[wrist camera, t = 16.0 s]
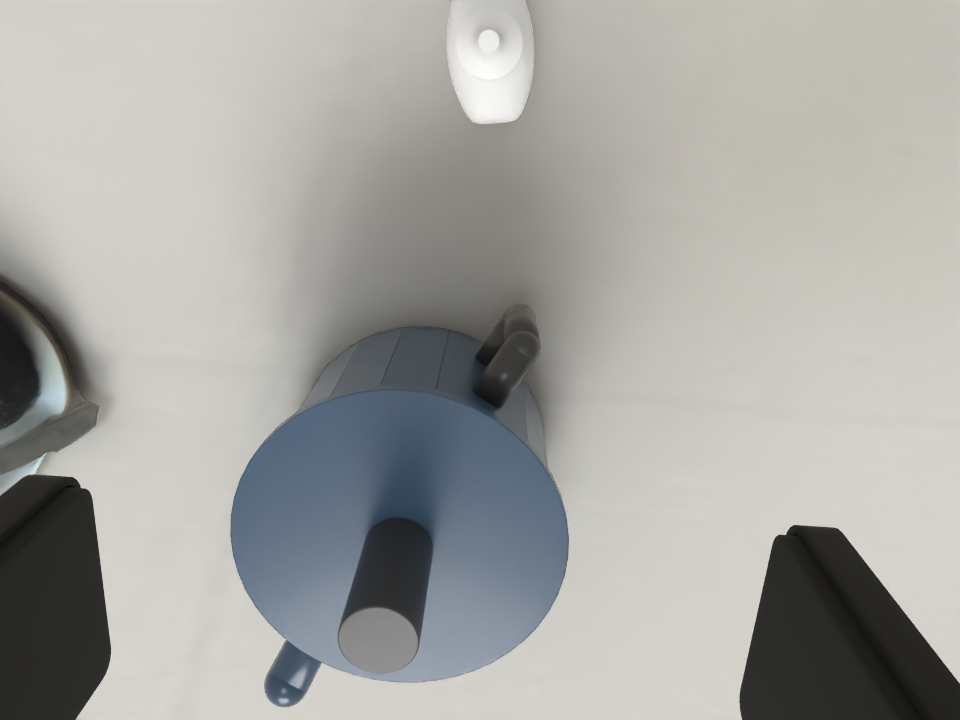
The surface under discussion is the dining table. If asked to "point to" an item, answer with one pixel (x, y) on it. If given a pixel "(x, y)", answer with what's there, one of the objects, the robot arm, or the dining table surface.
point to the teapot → (427, 373)
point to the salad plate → (34, 392)
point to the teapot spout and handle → (506, 367)
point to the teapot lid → (399, 533)
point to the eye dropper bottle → (490, 57)
